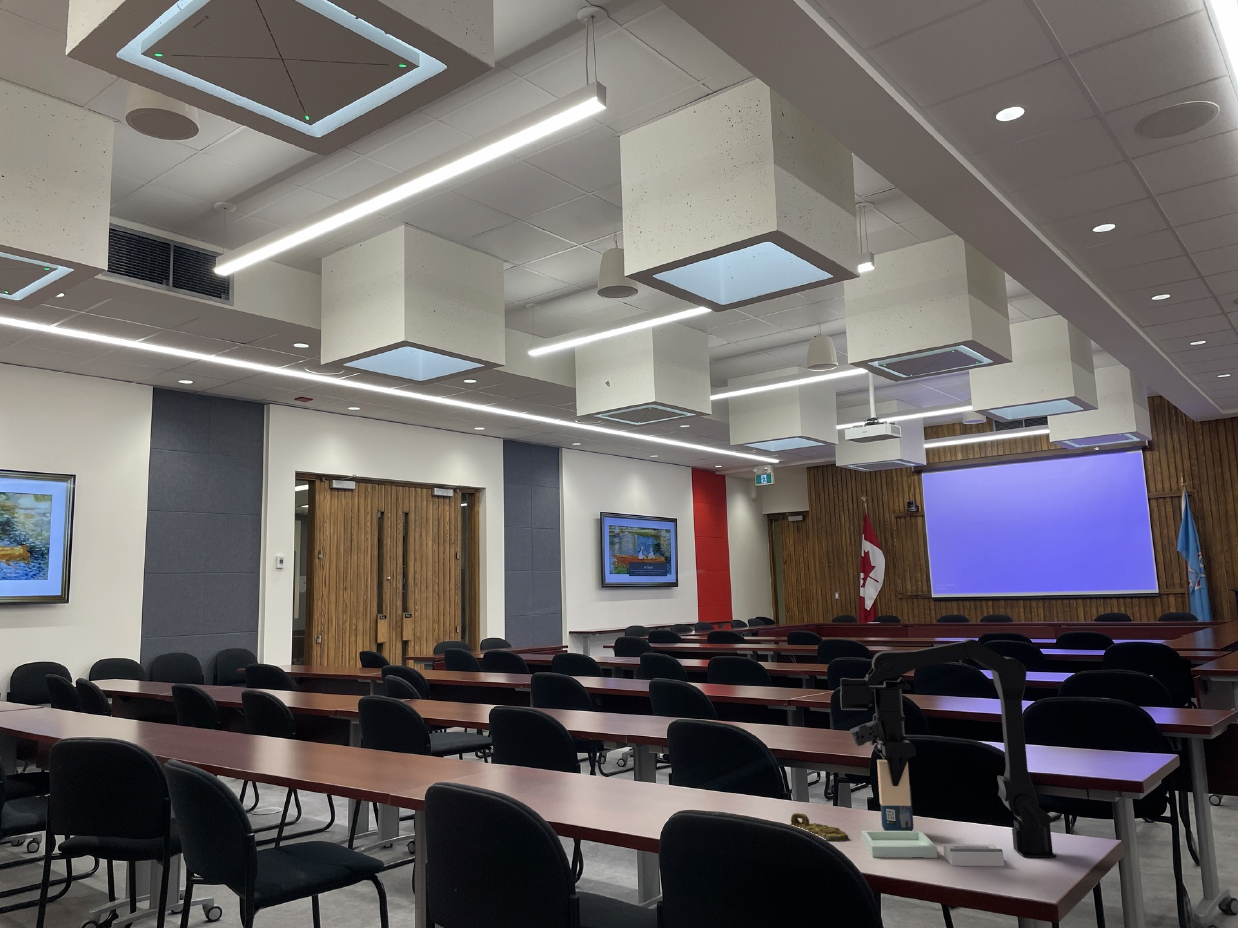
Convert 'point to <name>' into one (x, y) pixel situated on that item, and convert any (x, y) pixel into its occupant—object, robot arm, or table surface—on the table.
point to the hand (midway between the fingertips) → (894, 784)
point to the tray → (898, 844)
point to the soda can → (897, 817)
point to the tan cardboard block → (893, 787)
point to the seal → (819, 828)
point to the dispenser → (973, 855)
